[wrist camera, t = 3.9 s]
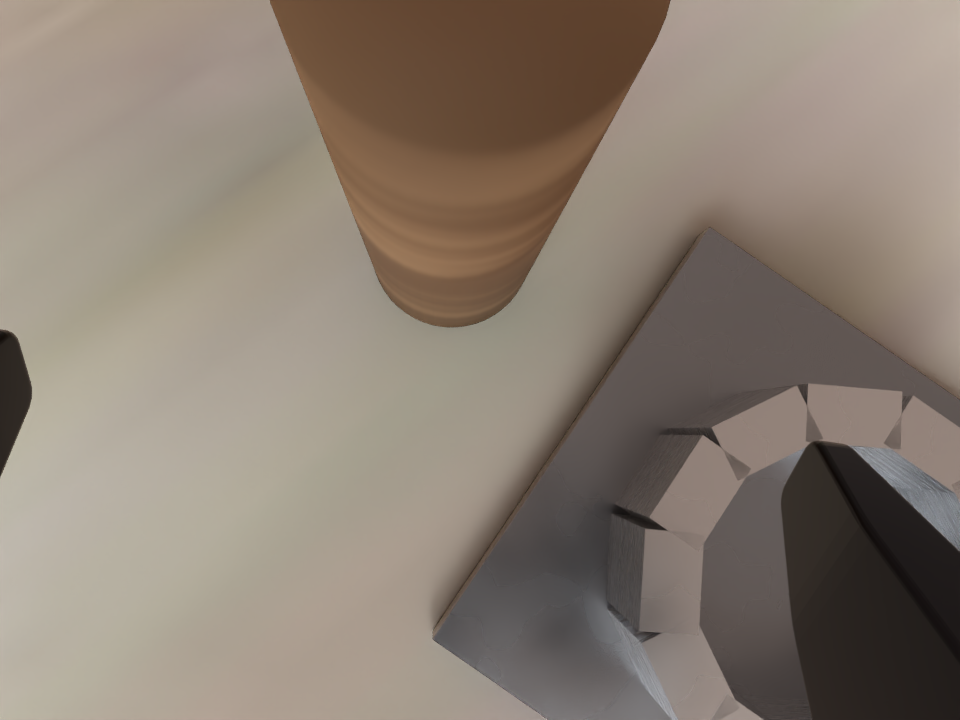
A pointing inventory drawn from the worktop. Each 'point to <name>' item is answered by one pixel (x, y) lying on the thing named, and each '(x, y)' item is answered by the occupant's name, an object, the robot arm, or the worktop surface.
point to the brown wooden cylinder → (463, 128)
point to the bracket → (694, 504)
